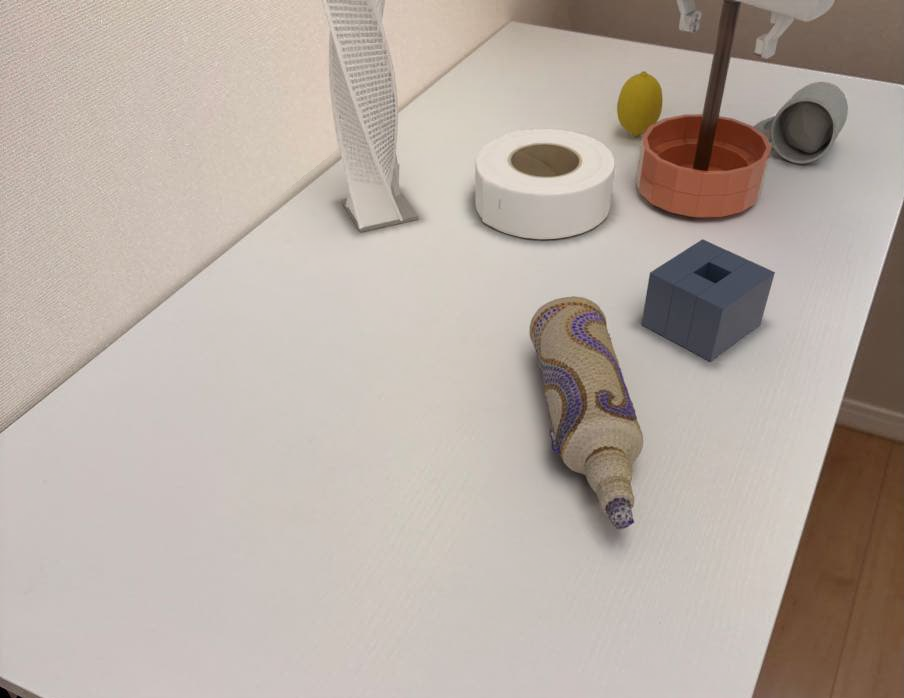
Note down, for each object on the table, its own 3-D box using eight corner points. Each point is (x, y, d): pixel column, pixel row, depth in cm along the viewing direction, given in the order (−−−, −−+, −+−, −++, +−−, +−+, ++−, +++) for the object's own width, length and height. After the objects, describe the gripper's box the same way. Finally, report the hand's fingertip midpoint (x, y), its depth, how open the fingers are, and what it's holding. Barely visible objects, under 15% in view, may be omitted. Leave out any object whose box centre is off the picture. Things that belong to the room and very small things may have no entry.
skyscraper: (422, 225, 107) (410, -54, 86) (354, 240, 105) (325, -41, 84) (398, 191, 112) (380, -80, 91) (333, 205, 110) (299, -69, 89)
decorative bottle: (524, 353, 91) (527, 294, 86) (601, 349, 91) (609, 290, 86) (566, 555, 74) (574, 496, 69) (661, 549, 74) (675, 490, 69)
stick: (708, 185, 110) (745, -1, 95) (698, 191, 109) (734, 4, 94) (695, 180, 111) (730, -5, 96) (686, 186, 110) (720, 0, 95)
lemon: (628, 122, 123) (636, 58, 117) (665, 134, 121) (675, 70, 115) (605, 138, 120) (612, 73, 114) (642, 151, 118) (651, 85, 112)
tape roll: (446, 203, 110) (445, 157, 106) (541, 158, 117) (544, 114, 113) (541, 257, 102) (544, 210, 98) (638, 206, 109) (644, 160, 105)
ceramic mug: (841, 142, 118) (859, 79, 113) (825, 170, 114) (843, 106, 108) (758, 126, 122) (772, 64, 116) (739, 153, 117) (752, 89, 112)
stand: (760, 324, 94) (775, 272, 89) (710, 362, 90) (722, 308, 85) (691, 290, 98) (702, 238, 93) (641, 324, 94) (649, 272, 89)
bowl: (782, 191, 111) (795, 141, 106) (710, 237, 104) (721, 186, 100) (684, 151, 118) (692, 103, 113) (611, 192, 111) (617, 142, 107)
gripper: (873, -99, 84) (829, 62, 95) (688, -140, 94) (666, 9, 105) (835, -83, 82) (794, 81, 92) (648, -127, 91) (630, 25, 102)
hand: (725, 42), depth 98 cm, fingers open, 8 cm apart
